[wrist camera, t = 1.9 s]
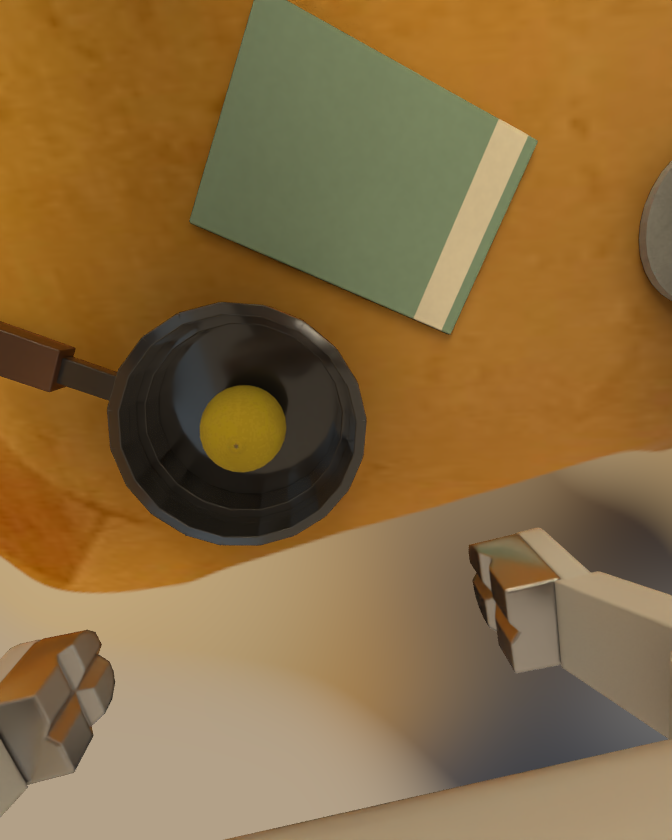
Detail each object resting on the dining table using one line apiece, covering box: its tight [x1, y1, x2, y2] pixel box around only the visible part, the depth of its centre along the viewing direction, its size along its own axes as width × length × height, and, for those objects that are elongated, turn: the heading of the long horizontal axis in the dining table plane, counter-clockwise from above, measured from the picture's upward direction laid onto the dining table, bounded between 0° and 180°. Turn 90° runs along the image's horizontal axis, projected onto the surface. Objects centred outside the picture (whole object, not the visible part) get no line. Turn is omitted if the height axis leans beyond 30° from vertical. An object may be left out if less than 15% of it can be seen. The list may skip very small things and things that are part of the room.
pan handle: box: [0, 321, 117, 400], centre depth 23 cm, size 12×3×2 cm, turn 68°
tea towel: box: [189, 0, 538, 334], centre depth 27 cm, size 20×14×1 cm
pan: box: [107, 302, 367, 545], centre depth 28 cm, size 16×16×6 cm
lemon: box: [200, 385, 286, 472], centre depth 27 cm, size 6×6×8 cm
